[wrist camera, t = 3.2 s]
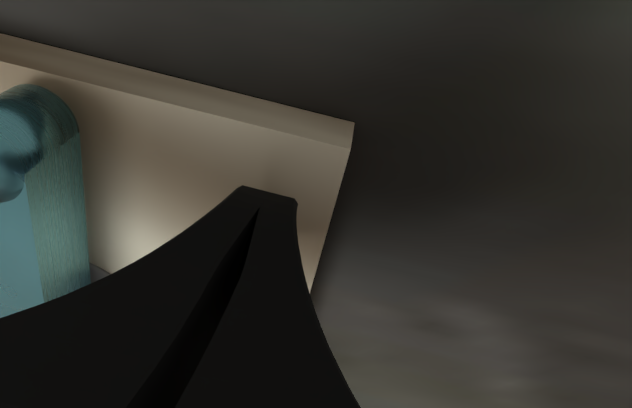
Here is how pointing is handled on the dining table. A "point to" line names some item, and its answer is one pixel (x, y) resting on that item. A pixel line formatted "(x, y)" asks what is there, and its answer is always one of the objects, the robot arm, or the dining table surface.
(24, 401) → the robot arm
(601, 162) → the dining table surface
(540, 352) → the dining table surface
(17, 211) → the teal rounded rod
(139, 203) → the latch board
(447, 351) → the dining table surface
